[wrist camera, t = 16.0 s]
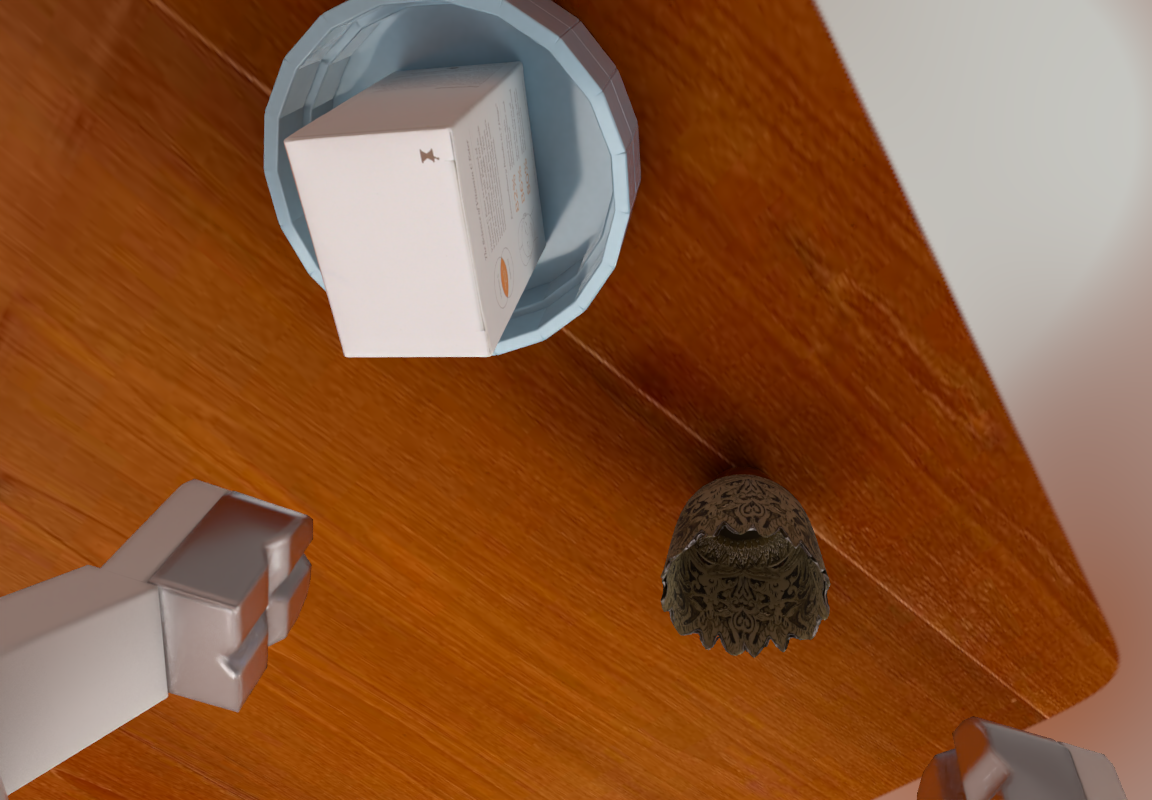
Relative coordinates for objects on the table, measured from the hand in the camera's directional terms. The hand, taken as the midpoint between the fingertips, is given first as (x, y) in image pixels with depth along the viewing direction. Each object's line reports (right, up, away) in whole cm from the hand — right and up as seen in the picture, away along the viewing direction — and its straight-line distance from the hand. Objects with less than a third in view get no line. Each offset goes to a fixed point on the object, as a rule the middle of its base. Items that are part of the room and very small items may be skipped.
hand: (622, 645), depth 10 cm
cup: (+8, -2, +33) cm, 34 cm away
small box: (-5, +13, +26) cm, 29 cm away
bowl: (-5, +14, +26) cm, 30 cm away
